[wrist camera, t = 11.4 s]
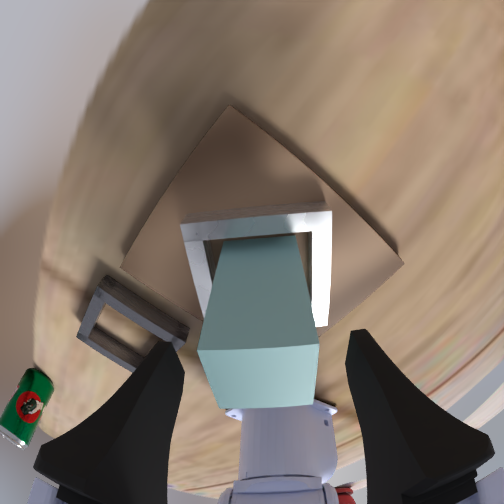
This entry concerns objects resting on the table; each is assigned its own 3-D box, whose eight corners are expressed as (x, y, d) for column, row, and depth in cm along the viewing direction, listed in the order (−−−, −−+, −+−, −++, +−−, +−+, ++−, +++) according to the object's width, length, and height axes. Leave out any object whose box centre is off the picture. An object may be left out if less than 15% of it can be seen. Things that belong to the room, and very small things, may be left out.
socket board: (398, 255, 17) (414, 276, 15) (280, 355, 22) (281, 379, 20) (230, 105, 13) (225, 104, 11) (125, 259, 18) (110, 280, 16)
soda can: (24, 360, 27) (-11, 423, 16) (51, 376, 27) (18, 444, 17) (33, 378, 29) (3, 437, 18) (58, 393, 30) (31, 456, 19)
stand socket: (189, 328, 21) (185, 342, 19) (151, 368, 24) (147, 380, 22) (106, 274, 19) (97, 286, 17) (83, 325, 21) (76, 336, 20)
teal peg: (295, 235, 16) (319, 343, 9) (297, 293, 17) (313, 404, 10) (223, 241, 16) (196, 350, 9) (233, 297, 18) (219, 408, 11)
